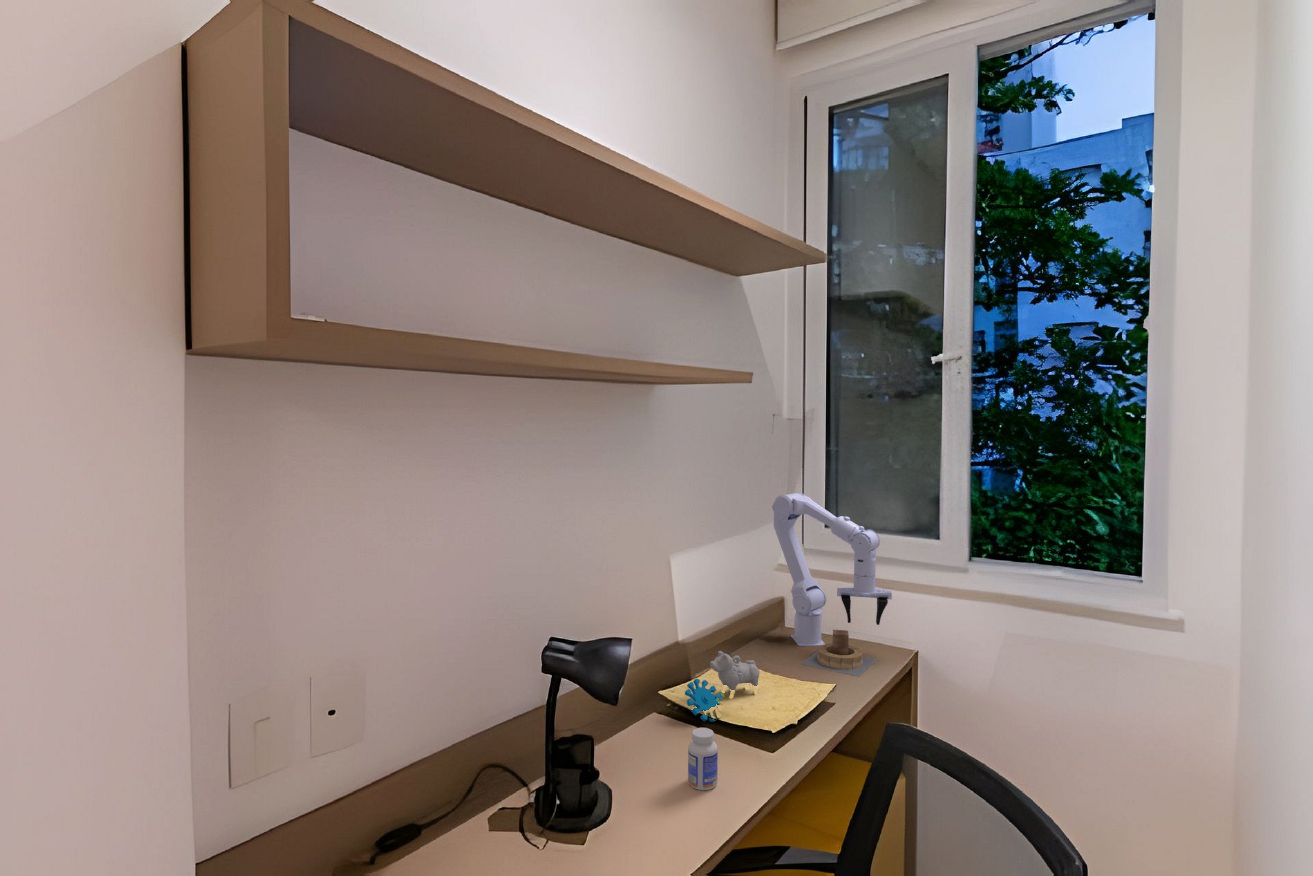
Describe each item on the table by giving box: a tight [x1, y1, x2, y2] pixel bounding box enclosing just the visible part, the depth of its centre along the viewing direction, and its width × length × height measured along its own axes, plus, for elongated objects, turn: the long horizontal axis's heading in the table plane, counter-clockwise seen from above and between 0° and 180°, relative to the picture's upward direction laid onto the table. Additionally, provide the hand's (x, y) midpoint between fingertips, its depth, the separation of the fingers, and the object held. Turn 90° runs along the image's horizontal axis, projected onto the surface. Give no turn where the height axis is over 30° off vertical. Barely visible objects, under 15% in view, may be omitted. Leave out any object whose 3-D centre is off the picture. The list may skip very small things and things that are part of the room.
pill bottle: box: [687, 727, 719, 791], centre depth 135 cm, size 5×5×10 cm
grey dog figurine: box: [709, 650, 760, 691], centre depth 177 cm, size 5×13×11 cm, turn 114°
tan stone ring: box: [817, 642, 864, 669], centre depth 199 cm, size 12×12×3 cm
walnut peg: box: [832, 629, 850, 655], centre depth 198 cm, size 4×4×8 cm
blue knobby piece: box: [684, 678, 725, 723], centre depth 165 cm, size 11×6×10 cm
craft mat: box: [800, 650, 879, 678], centre depth 199 cm, size 16×16×1 cm
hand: (863, 622), depth 204 cm, fingers open, 7 cm apart
